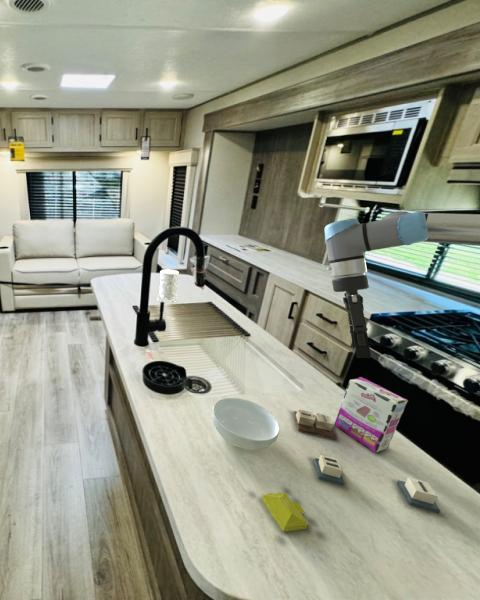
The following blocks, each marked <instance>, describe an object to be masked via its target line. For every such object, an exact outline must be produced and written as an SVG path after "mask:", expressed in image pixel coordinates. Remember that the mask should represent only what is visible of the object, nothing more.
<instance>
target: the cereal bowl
mask: <svg viewBox="0 0 480 600" xmlns="http://www.w3.org/2000/svg"><path fill="white" fill-rule="evenodd" d="M211 410H212V412H211V420H212V424H213V426H214V429H215V430H216V432H217V433H218V434H219V435H220V436H221V437H222V438H223V439H224V440H225V441H226V442H228V443H230V444H232V445H233V446H235V447H237V448H240V449H243V450H247V451H261V450H266V449H268V448H270V447H271V446H273V445H274V444H275V442H276V441H277V440H278V438H279V435H280V432H281V429H280V428H281V427H280V423H279V421H278V419H277V418H276V416H275V415H274V414H273V413H272V412H270V411H269V410H268V409H267V408H266V407H264V406H262V405H260V404H259V403H257V402H254V401H251V400H248V399H244V398H240V397H226V398H221V399H219V400H217V401H216V402H214V405H213V406H212V409H211Z"/></svg>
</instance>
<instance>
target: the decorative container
mask: <svg viewBox="0 0 480 600" xmlns="http://www.w3.org/2000/svg"><path fill="white" fill-rule="evenodd" d="M159 274H160V276H159V278H160V282H159V284H160V285H159V292H158V293H159V295H160V297H161V298H164V299H168V300H172V299H175V297H177V290H178V289H177V287H178V280H179V277H178V276H179V275H180V271H178V270H176V269H172V268H170V269H169V268H165V269H160V271H159ZM157 301H158V302H160V301H159V299H158V298H157ZM177 301H178V299H177V300H176V301H172V303H171V304H175V303H176V302H177Z"/></svg>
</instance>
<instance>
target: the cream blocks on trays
mask: <svg viewBox="0 0 480 600" xmlns="http://www.w3.org/2000/svg"><path fill="white" fill-rule="evenodd" d="M312 461H313V465H314V468H315V471H316V474H317V478H318V480H320V481H324V482H327V483H331V484H335V485H338V486H342V487H344V486H345V484H346V482H345V481H344V477H343V475H342V473H343V468H342V466H341V463H340V461H339V459H338V458H335V457H331V456H327V455H323V454H320V456H319V458H317V457H313V459H312ZM396 484H397V486H398V488H399V489H400V491H401V492H402V495H403V496H404V498H405V500H406V502H407V504H408V505H409V506H411V507H416V508H419V509H422V510H425V511H428V512H432V513H437V514H440V512H441V509H440V507H439V506H438V504H437V503H436V500H437V499H438V495H437V493H436V492H435V490H434V489H433V487H432V486H431V484H430V483H429V482H427V481H424V480H423V481H422V480H420V479H415V478H412V477H408V478H407V479H406V481H405V480H404V481H403V480H400V479H398V480H397V482H396Z"/></svg>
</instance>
